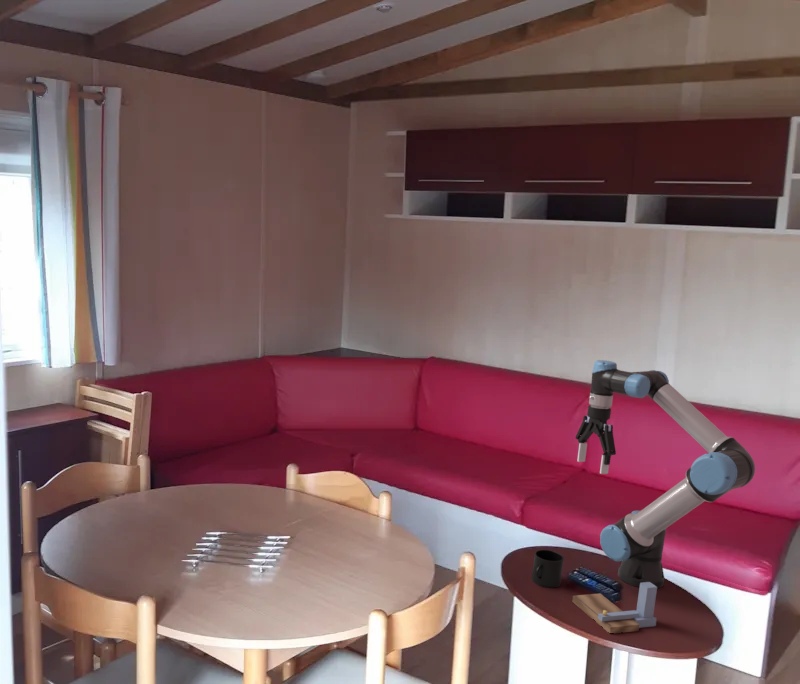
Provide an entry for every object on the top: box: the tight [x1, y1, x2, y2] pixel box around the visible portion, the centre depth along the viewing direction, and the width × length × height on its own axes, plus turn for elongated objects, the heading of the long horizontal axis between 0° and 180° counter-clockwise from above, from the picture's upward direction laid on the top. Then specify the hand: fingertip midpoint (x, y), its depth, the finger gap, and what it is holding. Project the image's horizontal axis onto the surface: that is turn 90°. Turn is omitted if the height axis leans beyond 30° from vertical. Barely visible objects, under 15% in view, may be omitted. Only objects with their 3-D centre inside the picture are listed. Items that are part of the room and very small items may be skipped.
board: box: [572, 592, 640, 634], centre depth 235 cm, size 10×20×2 cm, turn 20°
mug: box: [531, 549, 565, 588], centre depth 254 cm, size 9×12×9 cm
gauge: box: [598, 582, 658, 629], centre depth 230 cm, size 18×5×12 cm, turn 110°
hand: (592, 467), depth 263 cm, fingers open, 13 cm apart
